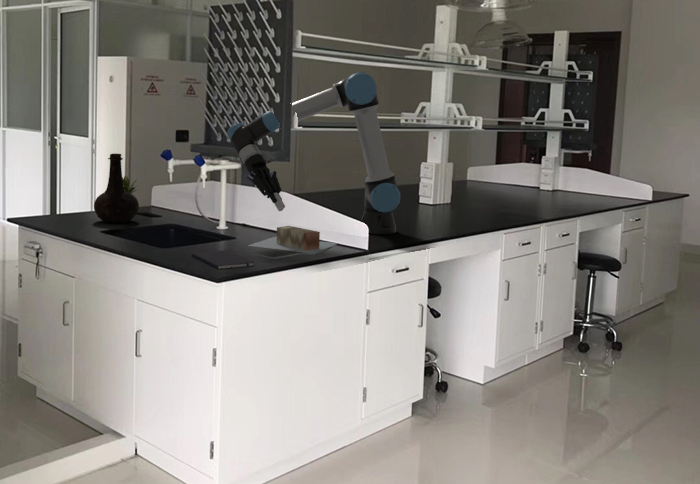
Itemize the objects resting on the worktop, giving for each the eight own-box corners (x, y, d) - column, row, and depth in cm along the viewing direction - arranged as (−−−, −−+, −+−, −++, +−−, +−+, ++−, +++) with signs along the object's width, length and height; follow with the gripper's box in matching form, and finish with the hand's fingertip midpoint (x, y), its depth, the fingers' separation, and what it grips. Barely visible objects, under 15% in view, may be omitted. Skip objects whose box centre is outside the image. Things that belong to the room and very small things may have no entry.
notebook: (191, 257, 261) (218, 270, 243) (191, 253, 260) (218, 265, 243) (226, 254, 267) (254, 267, 250) (226, 250, 267) (254, 262, 250)
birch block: (276, 227, 283) (307, 233, 273) (288, 225, 288) (319, 231, 277) (276, 243, 284) (307, 250, 274) (288, 241, 289) (319, 248, 278)
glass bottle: (111, 226, 309) (110, 156, 304) (85, 221, 320) (83, 152, 315) (148, 222, 324) (147, 154, 318) (121, 216, 334) (120, 151, 329)
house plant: (102, 207, 357) (101, 172, 354) (130, 205, 366) (129, 171, 363) (117, 211, 347) (116, 175, 344) (145, 209, 356) (145, 174, 353)
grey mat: (276, 237, 299) (276, 236, 299) (338, 244, 289) (338, 243, 289) (247, 247, 279) (247, 245, 279) (313, 255, 269) (313, 253, 269)
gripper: (261, 165, 300) (290, 213, 292) (234, 166, 290) (263, 216, 282) (270, 152, 295) (300, 201, 287) (244, 153, 286) (273, 203, 278)
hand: (282, 208), depth 285 cm, fingers closed
